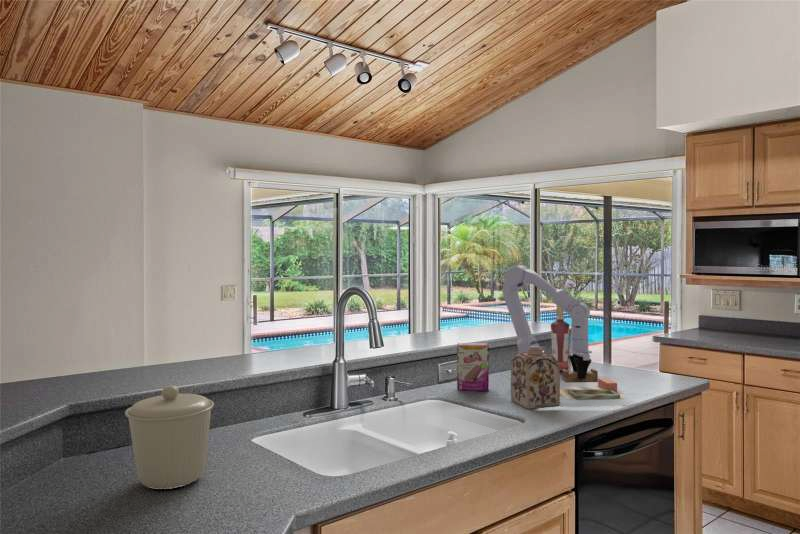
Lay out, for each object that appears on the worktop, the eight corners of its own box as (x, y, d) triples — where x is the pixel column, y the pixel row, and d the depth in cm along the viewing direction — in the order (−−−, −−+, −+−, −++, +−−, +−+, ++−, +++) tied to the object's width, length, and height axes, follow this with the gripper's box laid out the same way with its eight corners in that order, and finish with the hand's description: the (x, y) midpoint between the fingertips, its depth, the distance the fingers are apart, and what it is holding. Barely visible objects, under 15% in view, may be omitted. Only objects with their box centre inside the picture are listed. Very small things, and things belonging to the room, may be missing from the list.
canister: (187, 460, 141) (185, 373, 141) (232, 478, 130) (230, 383, 129) (111, 484, 127) (109, 388, 127) (153, 506, 116) (151, 400, 115)
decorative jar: (560, 406, 185) (560, 349, 184) (527, 410, 182) (527, 352, 181) (541, 397, 196) (541, 344, 196) (510, 400, 193) (509, 346, 193)
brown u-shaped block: (565, 382, 200) (565, 371, 200) (562, 379, 204) (562, 369, 204) (597, 382, 201) (597, 371, 201) (593, 379, 205) (593, 368, 205)
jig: (567, 402, 189) (567, 396, 189) (552, 390, 206) (552, 384, 206) (628, 401, 190) (628, 394, 190) (609, 389, 206) (609, 383, 206)
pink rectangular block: (606, 392, 198) (606, 383, 198) (598, 386, 206) (597, 378, 206) (617, 391, 198) (617, 383, 198) (608, 386, 206) (608, 377, 206)
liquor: (570, 373, 234) (569, 303, 233) (551, 372, 236) (550, 302, 235) (569, 369, 241) (568, 301, 241) (550, 368, 243) (550, 301, 242)
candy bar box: (457, 391, 207) (456, 345, 206) (457, 388, 212) (456, 342, 211) (489, 391, 206) (488, 345, 205) (488, 388, 211) (488, 342, 210)
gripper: (598, 341, 195) (598, 382, 195) (584, 334, 209) (583, 372, 210) (577, 341, 195) (577, 382, 195) (564, 335, 209) (564, 373, 210)
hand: (579, 377), depth 202 cm, fingers closed on brown u-shaped block, 4 cm apart
